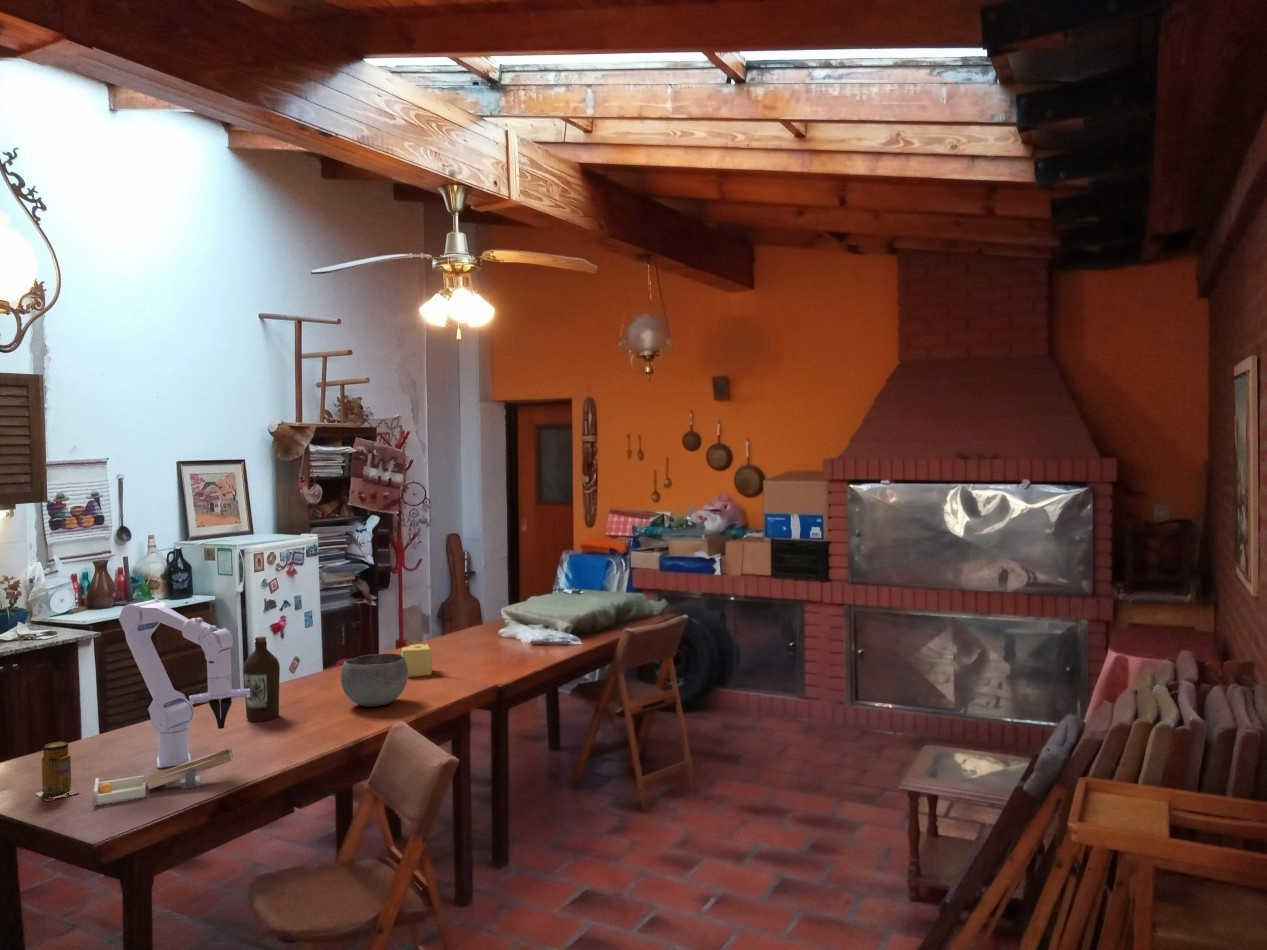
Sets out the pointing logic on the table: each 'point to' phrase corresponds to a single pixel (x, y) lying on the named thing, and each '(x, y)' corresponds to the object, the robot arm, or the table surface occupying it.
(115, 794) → the dish
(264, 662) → the olive oil
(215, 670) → the robot arm
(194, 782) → the pivot
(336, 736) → the table surface
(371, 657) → the bowl
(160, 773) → the lever
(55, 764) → the condiment
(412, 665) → the cheese
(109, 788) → the ball
